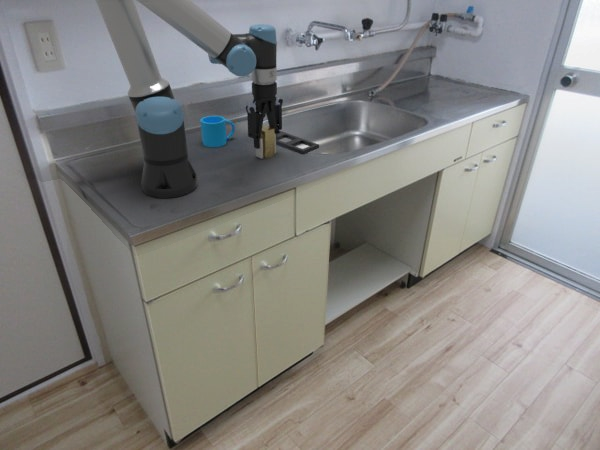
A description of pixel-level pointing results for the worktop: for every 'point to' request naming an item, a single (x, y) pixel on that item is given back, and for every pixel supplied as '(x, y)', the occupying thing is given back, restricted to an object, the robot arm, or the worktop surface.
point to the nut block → (268, 141)
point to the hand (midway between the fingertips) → (266, 154)
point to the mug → (215, 131)
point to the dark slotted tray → (295, 143)
